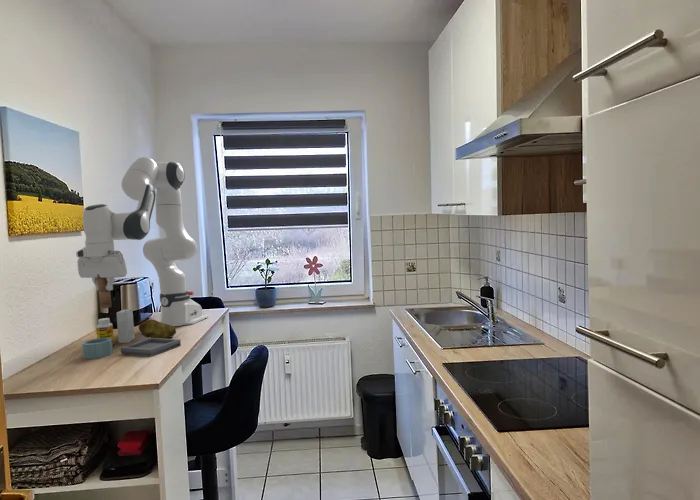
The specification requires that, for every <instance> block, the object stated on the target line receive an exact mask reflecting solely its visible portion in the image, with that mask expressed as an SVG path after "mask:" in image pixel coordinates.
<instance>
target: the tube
mask: <svg viewBox="0 0 700 500" xmlns="http://www.w3.org/2000/svg"><path fill="white" fill-rule="evenodd" d="M81 350H82V352H81V353H82V358H83V359H85V360H93V359H100V358H105V357H108V356H110V355H112V354H113V353H114V351H113V345H112V339H111V338H92V339H89V340H88V339H87V340H85V341H83V342H81Z"/></svg>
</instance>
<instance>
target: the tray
mask: <svg viewBox="0 0 700 500" xmlns="http://www.w3.org/2000/svg"><path fill="white" fill-rule="evenodd" d="M181 345H182V344H181V339H178V338H177V339H176V338H167V339H163V338H149V337H148V338H147V339H144V340H140V341H138V342H135V343H131V344H129V345H126V346H122V347H120V353H121V355H133V356H145V357H153V356H156V355H159V354H161V353H164V352H167V351H169V350H172V349H175V348H178V347H180V346H181Z"/></svg>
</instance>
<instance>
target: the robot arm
mask: <svg viewBox="0 0 700 500" xmlns="http://www.w3.org/2000/svg"><path fill="white" fill-rule="evenodd" d="M184 181H185V169H184V167H183V165H181V164H180V163H179V162H176V161H156V162H155V161H154V159H152V158H150V157H147V156H142V157H138V158H137V159H136V160H135V161H133V163H132V164H131V165H129V168H127V171H126V172H125V173H124V176H123V177H122V180H121V183H120V184H121V189H122V191H123V192H124V194H125V195H126V196H127V197H128V198H129V199H131V200H133V201H137V207H136V209H135V210H133V211H131V212H122V213H115V212H113V211H112V210H110V208H109V206H108V205H107V204H104V203H103V204H94V205H93V204H92V205H88V206H86V207H85V208H84V209H83V215H82V221H83V223H82V224H83V232H84V234H85V241H84V243H85V246H84V247H83V248H81V249H78V250H77V251H76V253H75V256H76V258H78V259H77V271H78V276H79V277H80V278H81V279H82V278H83V279H91V280H92V283H93V284H94V286H95V290H96V291H99V290H98V281H97V276H98V275H97V274H99V276H100V277H101V278H107V281H108V283H107V285H106V286H105V287H106V290H108V291H110V292H111V291H113V290H114V283H115V280H116V278H124V277H126V276H127V274H128V270H127V266H126V261H125V258H124V255H123V253H121V251H120V250H115V244H114V241H121V240H122V241H124V240H136V241H141V240H143V239H144V238H145V237H147V235H148V234H149V232H150V229H151V218H152V215H153V210H154V206H155V221H156V222H155V223H156V224H157V226H159V228H162V229H163V231H164V232H165V237H164V236H163V237H154V238H152V239H149V240H146V241H145V242H144V245H143V247H142V253H143V256H144V258H145V259H146V260H147V261H149V262H150V263H151V264H152V266H153V267H154V270H155V271H156V274H157V278H158V283H159V291H160V293H159V302H160V316H159V317H160V319H159V322H161V323H164V324H169V325H172V326H174V327H180V326H187V325H194V324H197V323H199V322H201V321H203V320H206V319H208V318H209V315H208V314H203V308H202V306H201V304H199V303H198V302H196V301H194V300H193V299H191V296H194V293H195V292H194V290H187V289H188V288H187V280H186V279H187V278H186V274H185V272H183V270H182V269H180V268H178V266H177V264H176V262H185V261H188V260H189V261H190V260H191V259H192V260H193V259H194V258H195V257H196V255H197V252H198V245H197V242H196V241H195V239H193V238H192V237H191V236H190V234H189V233H188V231H187V230H186V228H185V225H184V219H183V202H182V201H183V200H182V194H181V193H182V192H181V186H182V185H183V183H184ZM205 318H206V319H205Z"/></svg>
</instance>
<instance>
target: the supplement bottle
mask: <svg viewBox="0 0 700 500" xmlns="http://www.w3.org/2000/svg"><path fill="white" fill-rule="evenodd" d="M97 321H98V322H97V325H96V327H95V328H96V337H97V338H111V339H112V346H113V345H114V344H115V338H114V325H113V323H112V322H111V320H110V317H105V318H104V317H103V318H99V319H98V320H97ZM97 338H96V339H97Z"/></svg>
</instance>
